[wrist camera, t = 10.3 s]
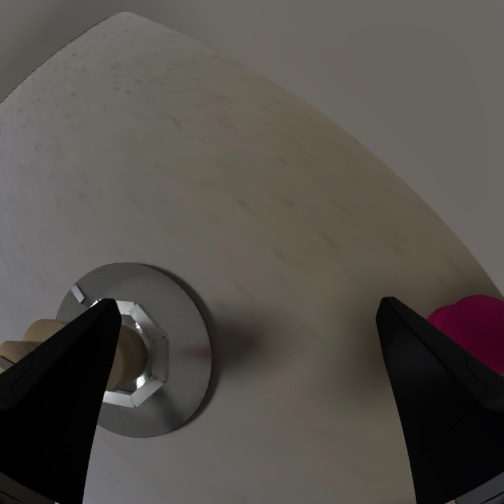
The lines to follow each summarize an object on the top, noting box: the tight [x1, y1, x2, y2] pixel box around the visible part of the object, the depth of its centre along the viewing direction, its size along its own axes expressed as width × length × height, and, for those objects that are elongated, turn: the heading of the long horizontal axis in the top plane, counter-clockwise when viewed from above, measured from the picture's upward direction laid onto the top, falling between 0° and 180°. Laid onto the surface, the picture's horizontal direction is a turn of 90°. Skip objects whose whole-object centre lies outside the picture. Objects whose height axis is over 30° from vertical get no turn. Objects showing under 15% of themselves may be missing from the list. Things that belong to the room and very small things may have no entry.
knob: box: [0, 319, 148, 392], centre depth 15 cm, size 5×5×13 cm
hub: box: [56, 263, 213, 438], centre depth 21 cm, size 15×15×2 cm
